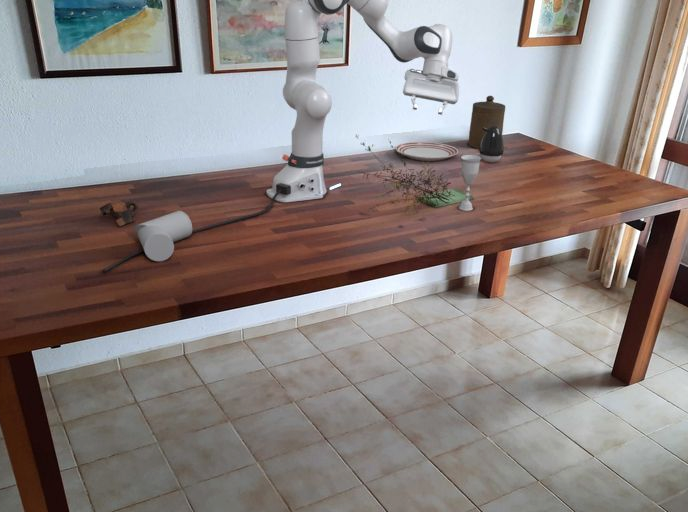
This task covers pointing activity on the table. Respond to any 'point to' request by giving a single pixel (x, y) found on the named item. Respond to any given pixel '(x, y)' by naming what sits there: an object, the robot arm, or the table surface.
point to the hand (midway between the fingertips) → (427, 111)
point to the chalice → (469, 176)
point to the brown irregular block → (120, 210)
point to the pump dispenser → (491, 144)
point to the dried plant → (413, 185)
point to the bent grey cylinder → (163, 234)
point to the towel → (458, 198)
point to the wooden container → (485, 119)
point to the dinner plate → (426, 151)
